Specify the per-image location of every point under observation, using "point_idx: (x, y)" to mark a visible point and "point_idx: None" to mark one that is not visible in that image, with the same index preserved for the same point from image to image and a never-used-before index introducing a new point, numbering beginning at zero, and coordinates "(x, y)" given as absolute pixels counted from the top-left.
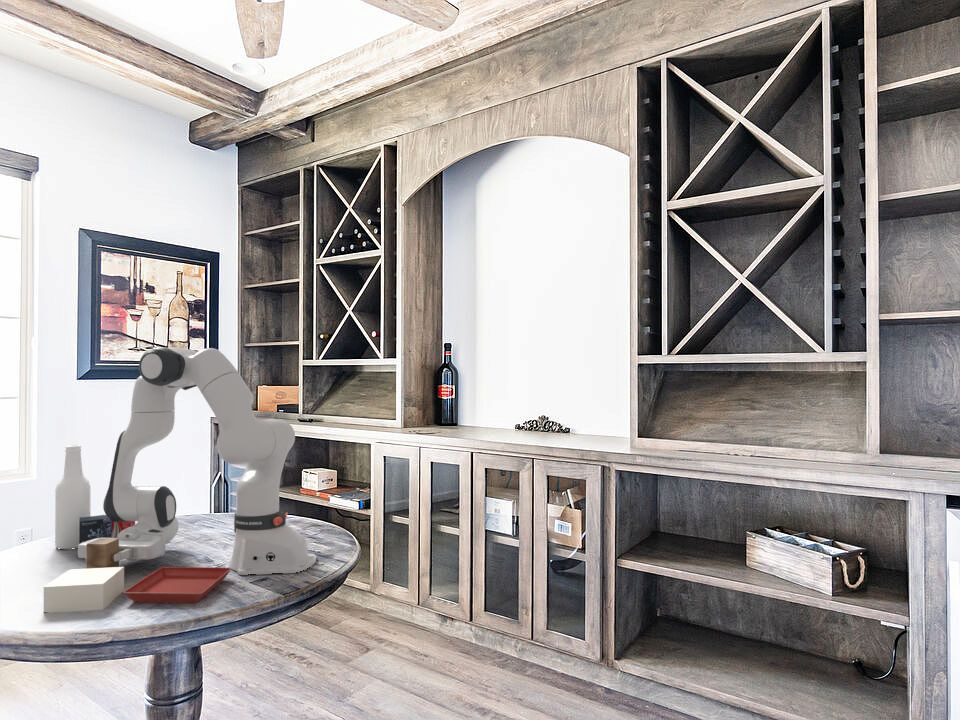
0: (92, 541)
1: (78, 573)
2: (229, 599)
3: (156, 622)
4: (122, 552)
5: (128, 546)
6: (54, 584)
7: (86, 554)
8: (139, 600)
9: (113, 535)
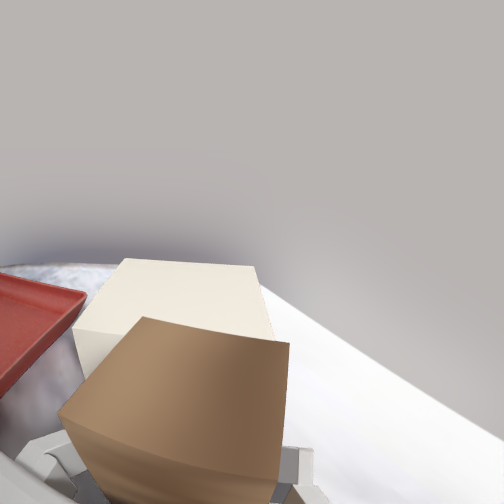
0: (285, 386)
1: (215, 310)
2: None
3: (55, 268)
4: (65, 430)
5: (21, 469)
6: (237, 271)
7: (309, 448)
8: (60, 313)
9: None
